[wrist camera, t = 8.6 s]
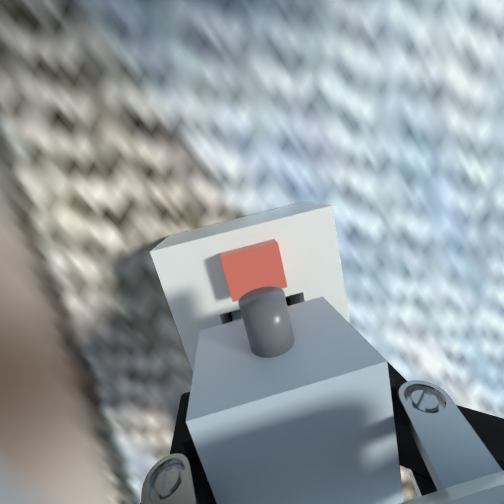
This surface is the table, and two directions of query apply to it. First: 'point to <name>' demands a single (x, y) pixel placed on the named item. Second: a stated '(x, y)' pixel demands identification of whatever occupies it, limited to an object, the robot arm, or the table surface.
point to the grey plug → (293, 407)
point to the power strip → (249, 265)
